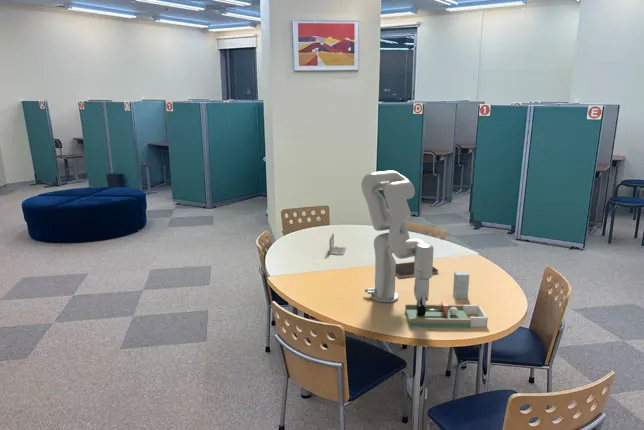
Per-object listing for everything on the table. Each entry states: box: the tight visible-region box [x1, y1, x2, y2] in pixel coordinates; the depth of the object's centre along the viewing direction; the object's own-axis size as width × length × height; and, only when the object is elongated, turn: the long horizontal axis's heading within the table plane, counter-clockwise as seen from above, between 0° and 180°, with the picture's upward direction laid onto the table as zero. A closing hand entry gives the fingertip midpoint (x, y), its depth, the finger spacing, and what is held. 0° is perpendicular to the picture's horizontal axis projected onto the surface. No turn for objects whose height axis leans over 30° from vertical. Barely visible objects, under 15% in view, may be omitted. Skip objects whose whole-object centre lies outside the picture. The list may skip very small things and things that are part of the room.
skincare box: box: [452, 271, 470, 299], centre depth 219 cm, size 6×4×12 cm
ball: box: [449, 307, 458, 316], centre depth 198 cm, size 4×4×4 cm
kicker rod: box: [416, 300, 449, 317], centre depth 198 cm, size 12×4×7 cm, turn 87°
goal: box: [462, 304, 489, 328], centre depth 198 cm, size 7×12×4 cm, turn 178°
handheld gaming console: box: [328, 232, 347, 256], centre depth 283 cm, size 13×9×10 cm
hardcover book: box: [395, 261, 439, 279], centre depth 253 cm, size 16×23×2 cm
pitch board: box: [404, 303, 472, 329], centre depth 199 cm, size 25×14×4 cm, turn 87°
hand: (420, 312), depth 199 cm, fingers closed on kicker rod, 3 cm apart
